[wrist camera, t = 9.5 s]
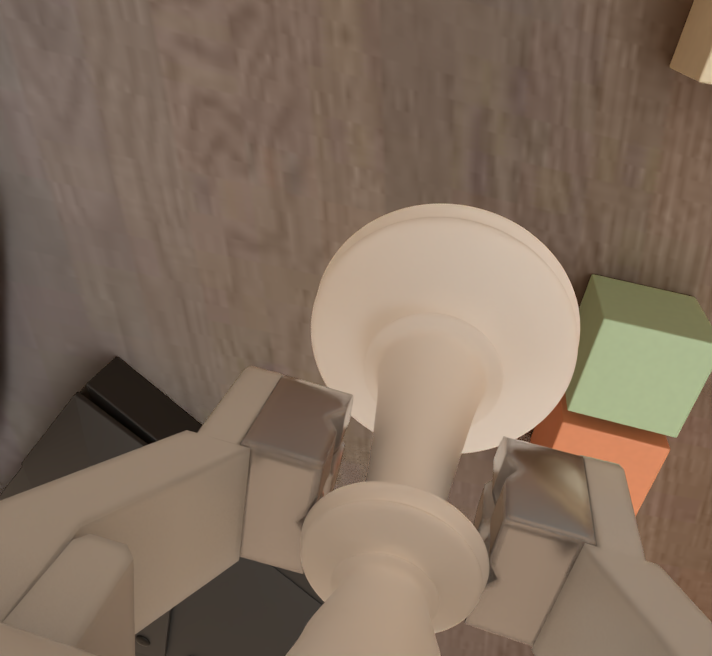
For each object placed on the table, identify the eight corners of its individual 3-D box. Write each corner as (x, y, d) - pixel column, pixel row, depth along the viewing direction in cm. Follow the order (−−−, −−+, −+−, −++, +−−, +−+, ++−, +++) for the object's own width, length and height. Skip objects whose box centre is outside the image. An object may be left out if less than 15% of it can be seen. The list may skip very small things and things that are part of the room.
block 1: (591, 273, 29) (603, 318, 25) (695, 296, 28) (725, 346, 24) (560, 357, 31) (566, 410, 27) (656, 380, 30) (676, 438, 26)
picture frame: (117, 355, 37) (-43, 558, 51) (74, 394, 33) (-86, 601, 47) (402, 588, 41) (181, 718, 54) (391, 645, 37) (157, 769, 51)
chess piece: (467, 141, 10) (201, 958, 2) (635, 359, 11) (1028, 1553, 3) (266, 303, 12) (-299, 1000, 4) (422, 471, 14) (257, 1309, 5)
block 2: (556, 367, 31) (562, 422, 27) (651, 390, 31) (671, 449, 27) (529, 438, 33) (531, 498, 29) (617, 461, 33) (631, 525, 29)
